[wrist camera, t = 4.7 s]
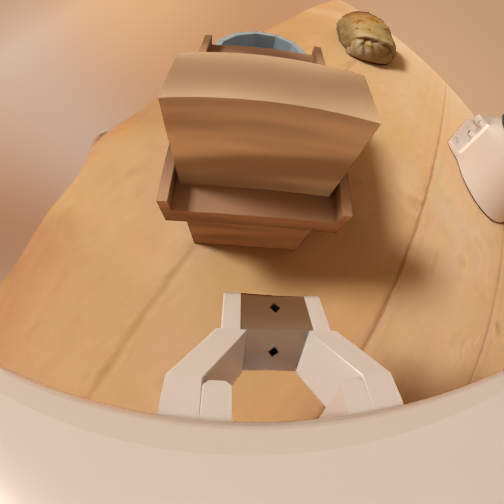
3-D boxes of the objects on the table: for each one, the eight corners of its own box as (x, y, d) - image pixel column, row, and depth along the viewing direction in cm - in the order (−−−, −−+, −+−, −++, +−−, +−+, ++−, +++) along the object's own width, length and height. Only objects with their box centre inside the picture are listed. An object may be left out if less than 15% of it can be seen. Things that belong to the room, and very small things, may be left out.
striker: (328, 196, 16) (380, 123, 10) (180, 184, 16) (158, 97, 9) (324, 151, 17) (363, 75, 11) (189, 139, 17) (178, 52, 10)
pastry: (351, 28, 40) (362, 1, 33) (400, 59, 39) (415, 32, 31) (316, 38, 37) (327, 4, 29) (374, 73, 35) (392, 40, 27)
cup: (249, 61, 32) (253, 25, 26) (309, 93, 31) (322, 56, 25) (196, 92, 29) (193, 52, 23) (261, 131, 28) (269, 88, 22)
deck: (304, 261, 24) (352, 216, 15) (183, 253, 24) (156, 201, 14) (298, 114, 29) (320, 47, 20) (207, 105, 29) (205, 35, 19)
